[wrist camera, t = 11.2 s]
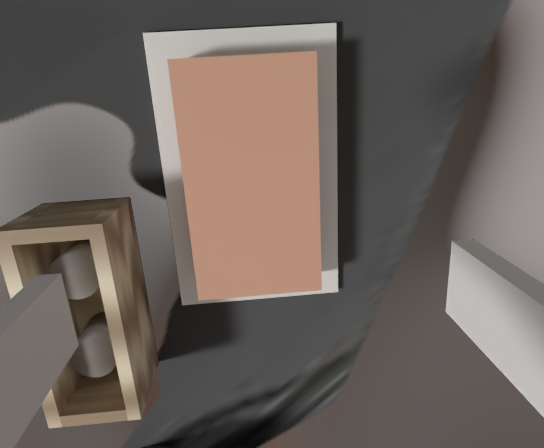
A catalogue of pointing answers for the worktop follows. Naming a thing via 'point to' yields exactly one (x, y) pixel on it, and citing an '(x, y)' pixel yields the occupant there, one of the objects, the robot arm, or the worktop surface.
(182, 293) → the grey mat
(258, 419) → the worktop surface
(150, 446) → the food container
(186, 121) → the peach flat tile
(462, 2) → the worktop surface
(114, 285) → the birch box
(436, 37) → the worktop surface
